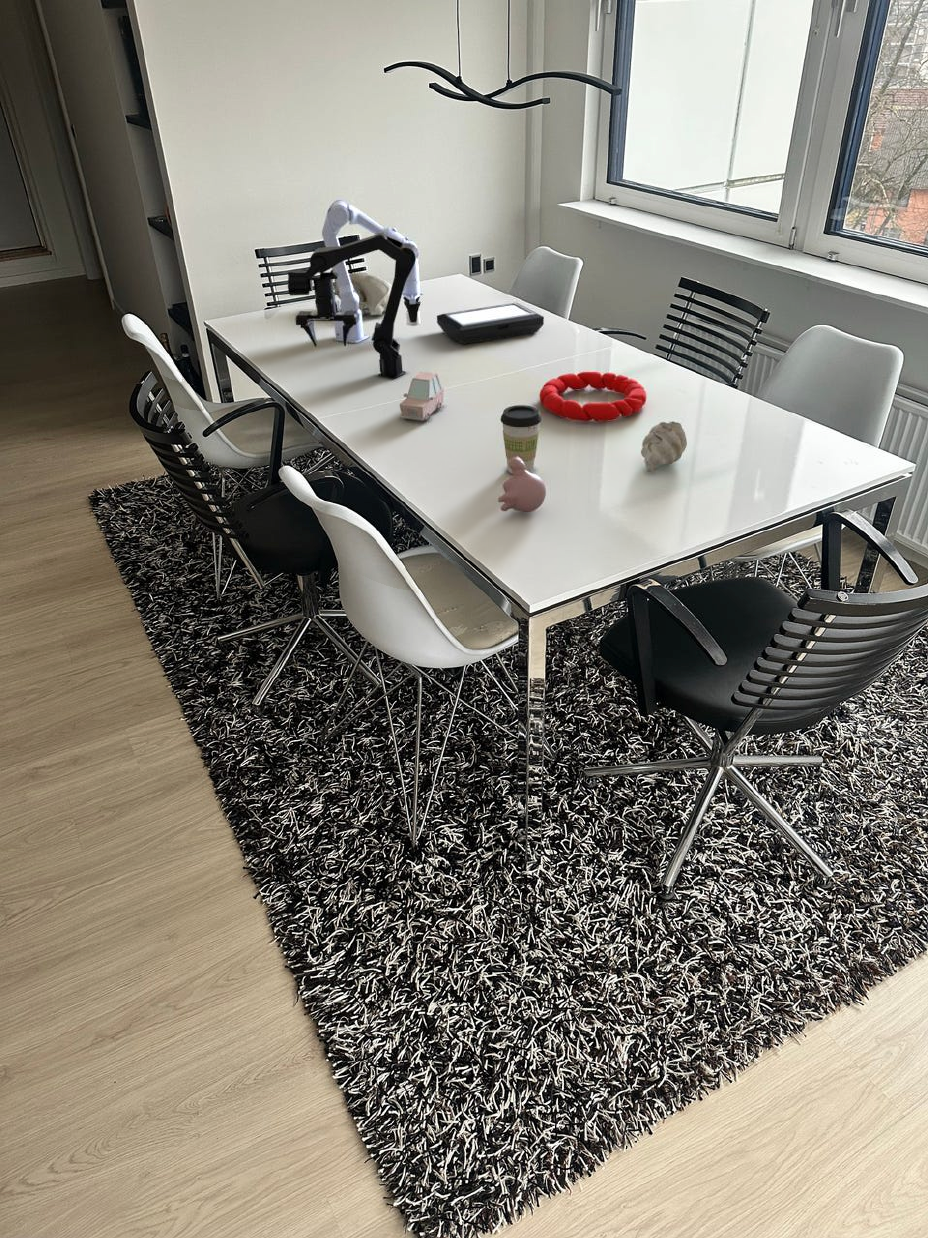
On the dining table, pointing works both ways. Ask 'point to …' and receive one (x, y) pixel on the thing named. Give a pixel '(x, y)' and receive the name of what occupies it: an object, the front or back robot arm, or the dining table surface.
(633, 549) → the dining table surface
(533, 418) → the coffee cup
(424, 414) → the toy car
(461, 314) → the electronic device
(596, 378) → the decorative ring
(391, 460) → the dining table surface
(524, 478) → the figurine
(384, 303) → the animal skull
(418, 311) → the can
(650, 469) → the seashell
